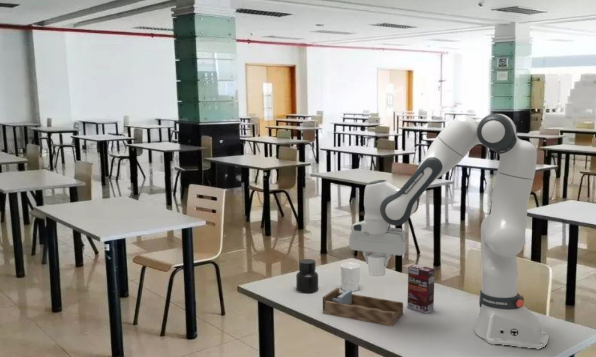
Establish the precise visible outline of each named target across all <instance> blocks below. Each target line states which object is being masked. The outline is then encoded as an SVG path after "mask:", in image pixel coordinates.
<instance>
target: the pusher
mask: <svg viewBox="0 0 596 357" xmlns="http://www.w3.org/2000/svg"><path fill="white" fill-rule="evenodd" d="M352 294H353V293H352V290H347V291H344V292H343V294H341V295H340V296H338V299H337V298H333V299H332V302H336V303H341V304H347V305H351V304H352Z"/></svg>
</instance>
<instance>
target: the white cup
mask: <svg viewBox="0 0 596 357" xmlns="http://www.w3.org/2000/svg"><path fill="white" fill-rule="evenodd" d="M340 278H341V280H340V281H341V289H342V291H344V292H345V291H347V290H352V292H357V291H359V289H360V279H361V264H359V263H357V262H343V263H341V264H340Z"/></svg>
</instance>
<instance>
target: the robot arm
mask: <svg viewBox="0 0 596 357" xmlns="http://www.w3.org/2000/svg"><path fill="white" fill-rule="evenodd" d="M517 131H518V130H517V125H516V123H515V122H514V120H512V119H511V117H509V116H507V115H505V114H503V113H492V114H489V115H485V116H484V117H483V118H482V119H481V120H479V121H478V120H477V119H475V118H474V117H471V116H470V115H467V114H461V115H458V116H456V117H455V118H454V119H453V120H451V121H450V122H449V123H448V124H447V125H445V127H444V128H443V129H442V130H441V131H440V132H439V133H438V135H437V136H436V137H435V139H434V140H433V141H432V142H431V144H430V145H429V147H428V149H427V151H426V153H425V155H424V156H423V158H422V160H421V162H420V164H419V165H418V167H417V169H416V170H415V172H414V173H413V174H412V175H411V176H410V177H409V178H408V180H407V181H406V182H405V183H404V185H402V187H401V188H400V187H398V186H395V185H393V184H392V183H390V182H389V181H388V180H387V179H379V180H378V179H377V180H372V181H370V182H368V183H367V184H366V185H365V188H364V194H363V195H364V196H363V198H364V199H363V206H364V207H363V208H364V216H363V220H361V221H358V222H355V223H353V224H352V225H350V226H351V227H350V229H351V231H350V233H349V237H348V247H349V249H350V250H351V251H358V252H362V255H363V257H364V259H365V264H366V265H368V257H367V255H368V254H370V253H383V254H386V257H387V258H386V260H385V261H384V266H386V267H388V266H389V260H390V259H391V257H392V255H393V256H403V255H404V254H405V253H406V251H407V250H406V248H407V247H406V241H405V240H406V232H405V230H403V229H402V228H399V227H391V226H402V225H404V224H405V223H407V221H409V219H410V217H411V216H413V214H414V213H415V212H416V210H417V208H418V200H419V198H420V197H421V196H422V195H423V193H425V191H426V190H427V189H428V188H429V187H430V186H431V185H432V183H434V182H435V181H436V180H437V179H439V178H440V177H442V176H444V175H445V174H447V173H448V172H450V171H451V170H453V168H455V167H456V166H458V164H460V162H461V161H462V160H463V159H464V158H465V157H466V155H467V154H468V153H469V152H471V149H473V148H474V147H475V146H477V145H479V144H480V145H483V146H484V147H485V148H487V149H489V150H491V151H493V152H495V153H497V154H498V155H499V162H498V167H497V171H496V176H495V180H494V185H493V189H492V194H491V205H490V207H491V208H490V214H488V215H486V216H485V217H484V218H483V220H482V222H481V224H480V252H481V289H480V290H479V298H478V299H479V300H478V304H479V312H478V318H477V322H476V325H475V329H474V333H475V334H476V336H478V337H480V338H481V339H483V340H485V341H486V342H487V343H488V344H490V345H495V344H502V345H501V346H504V345H512V346H517V347H516V348H521V347H530V348H540V347H543V346H544V345H545V344H546V343H547V342H548V343H549V341H548V338H549V335H548V333H547V332H545V330H544V331H543V330H542V325H541V321H540V319H539V317H538V316H536V315H535V314H534V313H533V312H532V311H531V310H529V309H528V308H527V307H526V306H524V304H525V302H524V300H525V298H524V297H525V296H524V294H522V295H521V293H518V285H519V267H518V258H517V255H519V254H520V253H521V252H522V251H523V249H524V246H525V236H526V228H527V227H526V226H527V218H528V217H527V216H528V208H529V207H528V206H529V200H530V198H531V196H530V195H531V192H532V188H533V184H534V180H535V179H534V178H535V174H536V169H537V162H538V161H537V160H538V156H537V155H538V150H537V148H536V146H535V145H534V144H533V143H531V142H529V141H528V140H523V139H521V138H519V137H518V135H517V134H518V132H517ZM390 225H391V226H390ZM541 344H542V345H541ZM512 346H511V347H512ZM530 348H529V349H530Z"/></svg>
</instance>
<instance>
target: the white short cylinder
mask: <svg viewBox="0 0 596 357" xmlns="http://www.w3.org/2000/svg"><path fill="white" fill-rule="evenodd" d="M367 257H368V264H367V265H368V268H367V269H368V275H369V276H371V277H383V276H385V275H386V270H387V269H386V268H387V266H384V261H385V260H386V258H387V257H386V254H383V253H374V252H369V253H368V255H367Z"/></svg>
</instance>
